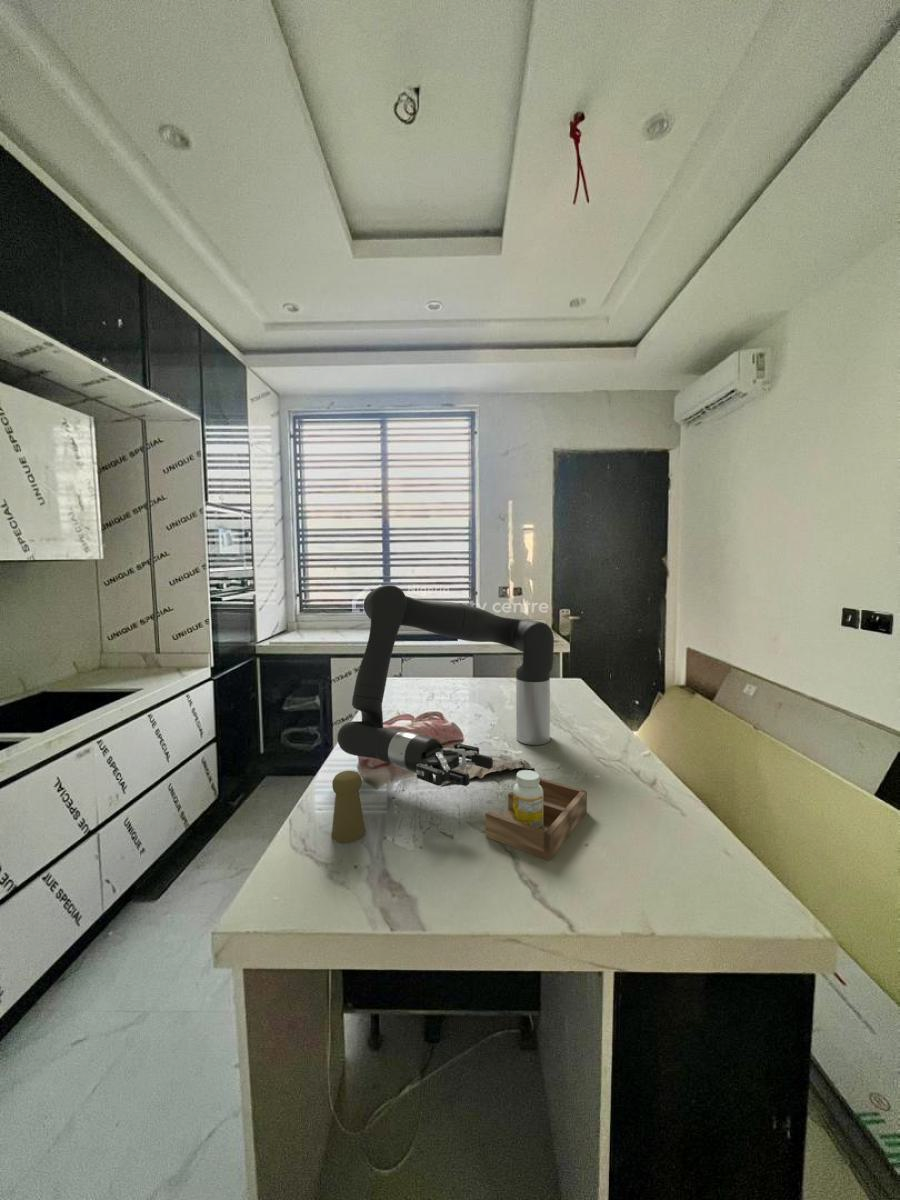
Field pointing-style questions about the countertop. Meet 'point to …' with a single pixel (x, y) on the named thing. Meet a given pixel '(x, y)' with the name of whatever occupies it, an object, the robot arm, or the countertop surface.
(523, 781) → the supplement bottle
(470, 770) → the stone fragment
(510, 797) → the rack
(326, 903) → the countertop surface
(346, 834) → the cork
